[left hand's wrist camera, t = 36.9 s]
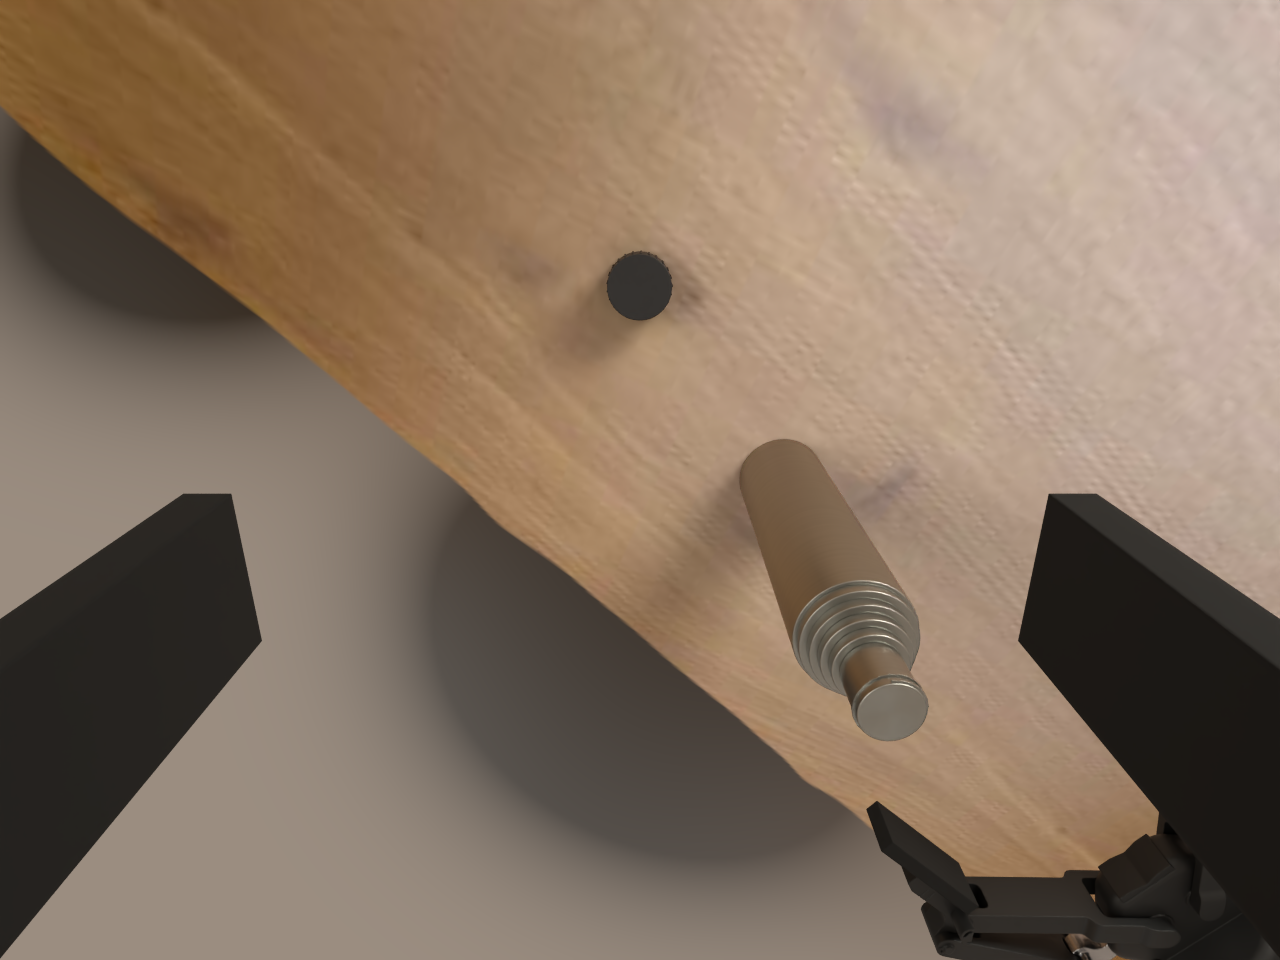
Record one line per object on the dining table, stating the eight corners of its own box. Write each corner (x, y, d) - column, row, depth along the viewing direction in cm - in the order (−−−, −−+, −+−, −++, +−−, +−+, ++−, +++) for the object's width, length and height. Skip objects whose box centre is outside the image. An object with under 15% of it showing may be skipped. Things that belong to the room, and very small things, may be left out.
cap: (608, 248, 48) (607, 251, 46) (673, 252, 48) (674, 254, 46) (606, 314, 49) (605, 319, 47) (669, 317, 49) (670, 322, 47)
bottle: (817, 516, 54) (953, 773, 31) (736, 515, 54) (810, 771, 31) (826, 439, 52) (979, 651, 29) (742, 438, 52) (826, 649, 29)
